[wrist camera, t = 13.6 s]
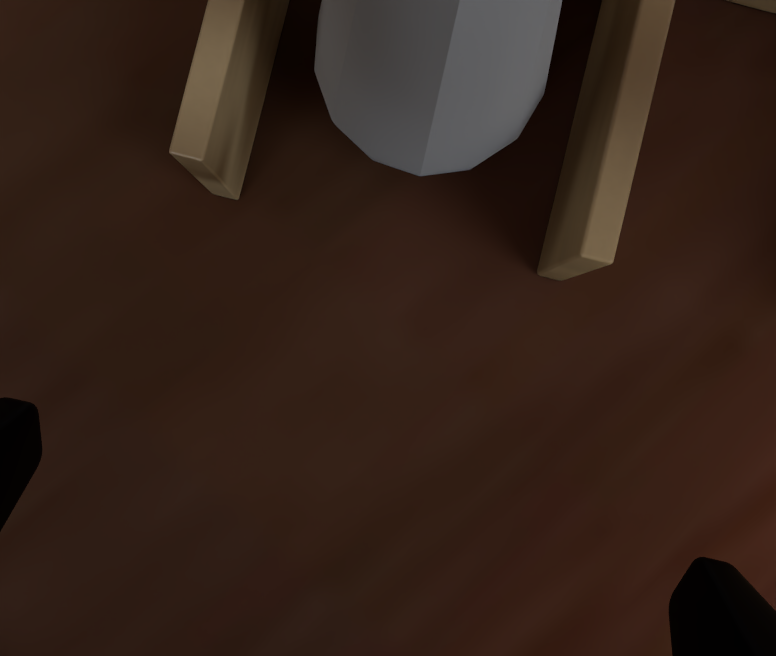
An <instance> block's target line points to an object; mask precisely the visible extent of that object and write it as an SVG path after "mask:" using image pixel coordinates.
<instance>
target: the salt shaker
mask: <svg viewBox="0 0 776 656" xmlns="http://www.w3.org/2000/svg"><path fill="white" fill-rule="evenodd" d="M561 5H562V0H322V2H321V7H320V11H319V16H318V27H317V40H316V53H315V66H314V71H315V74H316V77H317V80H318V83H319V86H320V89H321V91H322V94H323V97H324V100H325V103H326V106H327V108H328V111H329V114H330V117H331V120H332V121H333V123H334V124H335V125H336V126H337V127H338V128H339V129H340V130H341V131H342V132H343V133H344V134H345V135H346V136H347V137H348V138H349V139H351V140H352V141H353V142H354V143H355V144H356V145H357V146H358V147H359V148H360V149H361V150H362V151H363V152H364V153H365V154H367V155H368V156H369V157H370V158H371V159H372V160H373V161H376V162H379V163H382V164H385V165H388V166H391V167H394V168H397V169H399V170H402V171H405V172H408V173H411V174H414V175H417V176H427V175H435V174H442V173H450V172H458V171H466V170H470V169H472V168H473V167H475V166H476V165H478V164H480V163H481V162H483V161H484V160H486V159H487V158H489V157H490V156H492V155H493V154H495V153H497V152H498V151H500V150H501V149H503V148H504V147H506V146H507V145H509V144H510V143H512V142H513V141H515V140H516V139H518V137H519V135H520V134H521V132H522V130H523V129H524V127H525V125H526V124H527V122H528V120H529V118H530V117H531V115H532V113H533V112H534V110H535V108H536V107H537V105H538V103H539V102H540V100H541V98H542V97H543V95H544V92H545V87H546V82H547V77H548V72H549V67H550V61H551V56H552V51H553V46H554V41H555V36H556V31H557V26H558V20H559V15H560V10H561Z"/></svg>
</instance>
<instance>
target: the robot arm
mask: <svg viewBox="0 0 776 656" xmlns="http://www.w3.org/2000/svg"><path fill="white" fill-rule="evenodd" d="M41 456H42V441H41V432H40V422H39V414H38V409H37V408H36V406H35V405H34V404H32V403H30V402H26V401H21V400H17V399H13V398H0V531H1V529H2V528H3V526H4V524H5V523H6V521H7V519H8V517H9V516H10V514H11V512H12V510H13V509H14V507H15V505H16V503H17V502H18V500H19V498H20V497H21V495H22V493H23V491H24V490H25V488H26V486H27V484H28V483H29V481H30V479H31V477H32V476H33V474H34V472H35V471H36V469H37V467H38V465H39V462H40V460H41ZM669 621H670V632H671V643H672V655H673V656H776V611H775V610H774V609H773V608H772V607H771V606H770V605H769V603H768V602H767V601H766V600H765V599H764V598H763V597H762V596H761V595H760V594H759V593H758V592H757V591H756V590H755V588H754V587H753V586H752V585H751V584H750V583H749V582H748V581H747V580H746V579H745V578H744V577H743V576H742V575H741V573H740V572H739V571H738V570H737V569H736V568H735V567H734V566H732V565H731V564H729V563H727V562H723V561H719V560H715V559H710V558H706V557H699V558H697V559H695V560H694V561H693V562H692V564H691V565H690V567H689V568H688V570H687V571H686V573H685V574H684V576H683V578H682V579H681V581H680V582H679V584H678V585H677V587H676V589H675V590H674V592H673V594H672V596H671V599H670V603H669Z"/></svg>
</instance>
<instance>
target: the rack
mask: <svg viewBox="0 0 776 656" xmlns="http://www.w3.org/2000/svg"><path fill="white" fill-rule="evenodd" d="M289 1H290V0H208V3H207V7H206V10H205V14H204V18H203V22H202V26H201V30H200V34H199V37H198V41H197V45H196V49H195V53H194V57H193V61H192V64H191V68H190V72H189V76H188V80H187V84H186V87H185V91H184V95H183V99H182V103H181V107H180V111H179V114H178V118H177V122H176V126H175V130H174V134H173V138H172V141H171V145H170V149H169V153H170V154H171V155H172V156H173V157H174V158H175V159H176V160H177V161H178V162H179V163H180V164H182V165H183V166H184V167H185V168H186V169H187V170H188V171H189V172H190V173H191V174H192V175H193V176H194V177H195V178H196V179H197V180H198V181H199V182H201V183H202V184H203V185H204V186H205V187H206V188H207V189H208V190H209V191H210V192H211V193H212V194H215V195H219V196H223V197H227V198H231V199H235V200H238V199H239V197H240V193H241V189H242V185H243V181H244V177H245V173H246V169H247V165H248V161H249V157H250V154H251V150H252V146H253V142H254V138H255V134H256V130H257V126H258V122H259V118H260V114H261V111H262V107H263V103H264V99H265V95H266V91H267V87H268V83H269V79H270V75H271V71H272V68H273V64H274V60H275V56H276V52H277V48H278V44H279V40H280V36H281V32H282V28H283V24H284V21H285V17H286V13H287V9H288V5H289ZM725 1H729V2H733V3H737V4H741V5H744V6H748V7H752V8H756V9H760V10H764V11H768V12H771V13H775V14H776V0H725ZM674 4H675V0H602V3H601V7H600V11H599V15H598V20H597V24H596V28H595V32H594V36H593V40H592V44H591V49H590V53H589V57H588V61H587V65H586V69H585V74H584V78H583V82H582V86H581V90H580V94H579V98H578V103H577V107H576V111H575V115H574V119H573V123H572V128H571V132H570V136H569V140H568V144H567V148H566V152H565V157H564V161H563V165H562V169H561V173H560V177H559V182H558V186H557V190H556V194H555V198H554V202H553V206H552V211H551V215H550V219H549V223H548V227H547V231H546V236H545V240H544V244H543V248H542V252H541V256H540V260H539V265H538V269H537V274H538V275H539V276H543V277H547V278H551V279H555V280H559V281H561V280H565V279H568V278H571V277H574V276H577V275H580V274H583V273H586V272H589V271H592V270H595V269H598V268H601V267H604V266H607V265H610V264H612V263H613V261H614V257H615V253H616V249H617V244H618V240H619V236H620V232H621V227H622V223H623V219H624V215H625V211H626V206H627V202H628V198H629V194H630V190H631V185H632V181H633V177H634V173H635V168H636V164H637V160H638V156H639V152H640V147H641V143H642V139H643V135H644V131H645V126H646V122H647V118H648V114H649V109H650V105H651V101H652V97H653V93H654V88H655V84H656V80H657V76H658V72H659V67H660V63H661V59H662V55H663V50H664V46H665V42H666V38H667V34H668V29H669V25H670V21H671V17H672V13H673V8H674Z"/></svg>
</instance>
